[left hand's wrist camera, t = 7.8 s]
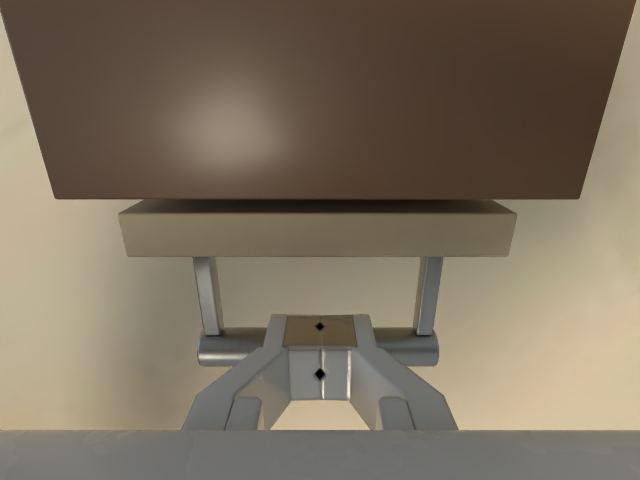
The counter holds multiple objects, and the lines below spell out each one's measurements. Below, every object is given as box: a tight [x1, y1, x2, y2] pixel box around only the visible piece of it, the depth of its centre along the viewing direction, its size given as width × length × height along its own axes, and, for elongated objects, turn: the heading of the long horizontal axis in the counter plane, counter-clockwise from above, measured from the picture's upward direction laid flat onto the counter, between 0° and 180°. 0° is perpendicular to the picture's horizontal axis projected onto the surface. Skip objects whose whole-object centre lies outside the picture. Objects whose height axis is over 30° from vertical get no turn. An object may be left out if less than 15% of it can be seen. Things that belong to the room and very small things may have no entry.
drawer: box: [118, 199, 517, 367], centre depth 11 cm, size 24×10×10 cm, turn 0°
